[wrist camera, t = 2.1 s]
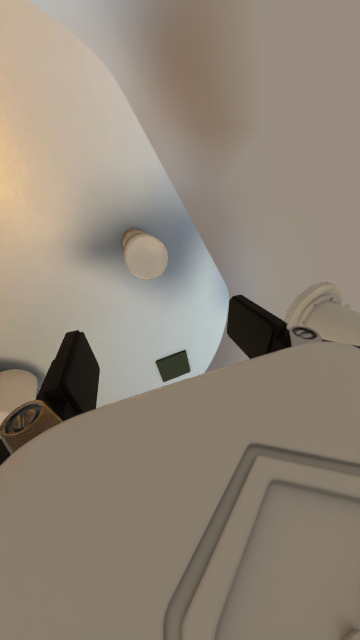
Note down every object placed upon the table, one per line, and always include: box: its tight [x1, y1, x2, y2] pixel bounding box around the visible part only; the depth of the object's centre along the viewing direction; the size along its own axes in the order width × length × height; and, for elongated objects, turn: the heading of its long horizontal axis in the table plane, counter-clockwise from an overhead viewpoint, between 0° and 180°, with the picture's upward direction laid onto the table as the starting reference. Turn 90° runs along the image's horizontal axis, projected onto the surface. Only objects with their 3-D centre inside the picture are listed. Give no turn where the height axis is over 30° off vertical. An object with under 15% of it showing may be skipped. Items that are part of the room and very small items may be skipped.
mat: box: [156, 350, 191, 382], centre depth 46 cm, size 8×8×1 cm
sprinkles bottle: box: [122, 229, 168, 280], centre depth 24 cm, size 5×5×13 cm
